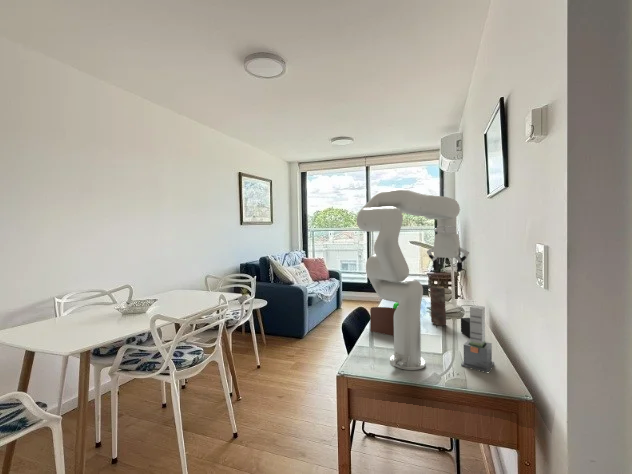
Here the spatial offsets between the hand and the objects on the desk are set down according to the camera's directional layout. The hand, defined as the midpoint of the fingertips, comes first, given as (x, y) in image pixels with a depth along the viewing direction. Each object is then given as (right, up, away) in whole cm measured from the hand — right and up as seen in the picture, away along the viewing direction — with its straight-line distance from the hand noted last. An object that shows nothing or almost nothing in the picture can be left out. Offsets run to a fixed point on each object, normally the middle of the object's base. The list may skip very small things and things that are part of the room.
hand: (447, 270), depth 136 cm
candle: (+8, -32, +31) cm, 45 cm away
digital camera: (+17, -32, +13) cm, 38 cm away
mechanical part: (-5, -32, +48) cm, 58 cm away
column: (+3, -25, -20) cm, 32 cm away
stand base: (+3, -33, -20) cm, 38 cm away
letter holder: (-19, -33, +16) cm, 41 cm away
